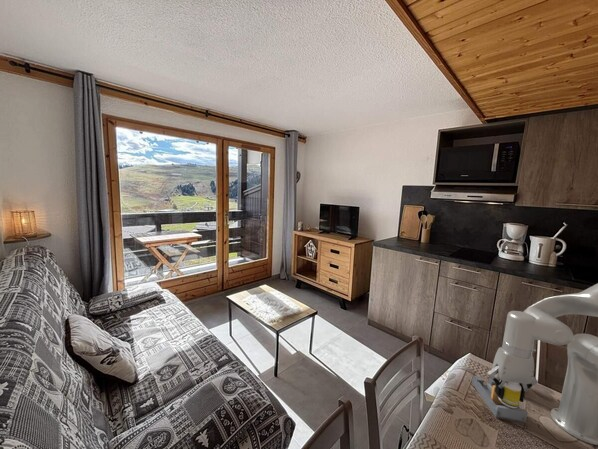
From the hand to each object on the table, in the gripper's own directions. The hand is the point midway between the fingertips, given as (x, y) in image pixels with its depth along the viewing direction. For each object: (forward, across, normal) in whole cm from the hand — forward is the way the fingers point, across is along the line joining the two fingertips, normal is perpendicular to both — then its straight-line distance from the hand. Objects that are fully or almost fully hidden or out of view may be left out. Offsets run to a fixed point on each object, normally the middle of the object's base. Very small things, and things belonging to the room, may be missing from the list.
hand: (508, 396), depth 86 cm
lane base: (+6, 0, -5) cm, 8 cm away
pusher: (+5, 0, -7) cm, 9 cm away
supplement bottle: (+2, 0, 0) cm, 2 cm away
